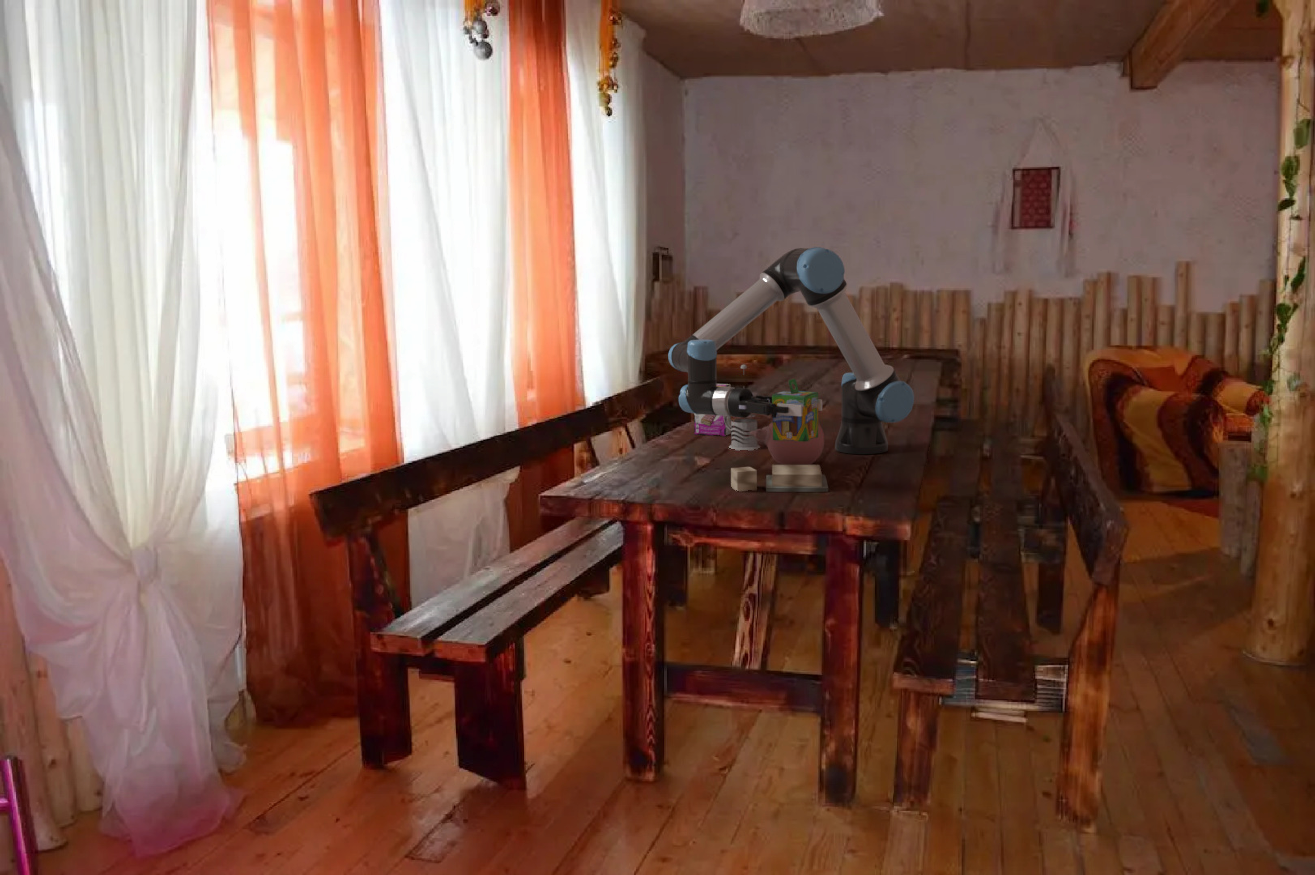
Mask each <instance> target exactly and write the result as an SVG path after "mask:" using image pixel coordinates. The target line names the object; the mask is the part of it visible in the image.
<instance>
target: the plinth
mask: <svg viewBox="0 0 1315 875" xmlns="http://www.w3.org/2000/svg"><path fill="white" fill-rule="evenodd" d="M771 470H772V471H771V473H772V474H766V478H765V480H766V481H765V492H767V493H772V492H773V493H776V492H777V493H780V492H781V493H782V492H784V493H787V492H788V493H789V492H790V493H791V492H793V493H797V492H798V493H799V492H801V493H808V492H809V493H817V492H818V493H828V492H829V485H828V480H827V478H826V475H825V474H822V471H821V470H822V468H821V465H820V464H810V465H781V464H772V465H771Z"/></svg>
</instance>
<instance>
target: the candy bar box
mask: <svg viewBox="0 0 1315 875" xmlns="http://www.w3.org/2000/svg"><path fill="white" fill-rule="evenodd" d="M717 387H732V386H731V384H730V383H729V384H728V383H717ZM693 416H694V417H693V418H694V420H693V430H694V432H693V434H694V435H700V436H701V435H702V436H713V435H718V437H727V436H729V435H731V430H729V429H731V427H730V426H731V420H732V419H731V418H732V416H728V421H727V418H725V422H724V418H723V415H721V416H720V415H705V414H695V413H693ZM728 422H729V424H728ZM725 423H726V425H727V427H728V428H729V429H728V428H727V427H726V425H725ZM729 425H730V426H729ZM719 435H720V436H719ZM726 435H727V436H726Z"/></svg>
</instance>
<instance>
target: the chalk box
mask: <svg viewBox="0 0 1315 875" xmlns="http://www.w3.org/2000/svg"><path fill="white" fill-rule="evenodd" d="M787 382H788V386H789V390H783V391H779V392H776V393H773V394H772V395H771V396H772V403H773V404H776V406H777V404H778V403H782V404H796V405H802V416H789V415H777V413H776V417H772V423H773V440H777V441H803V442H807V441H809V440H812V439H814V438H817V437H818V423H819V411H818V399H819V392H818V391H817V392H816V391H804V390H799V387H798V383H797V380H796V378H792V379H789V380H788V381H787ZM793 385H794V388H793Z"/></svg>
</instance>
